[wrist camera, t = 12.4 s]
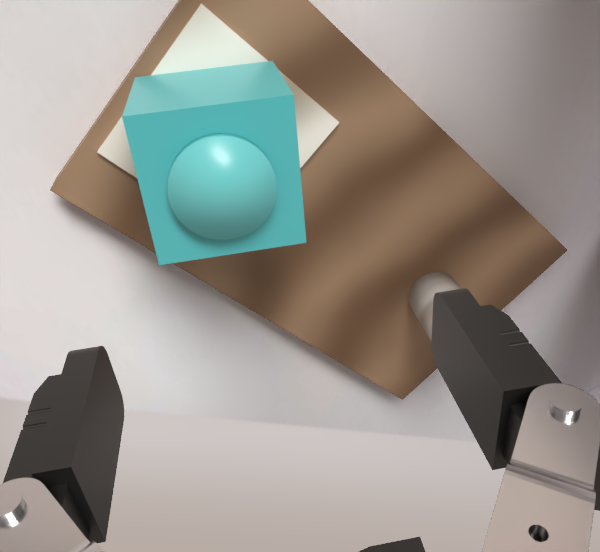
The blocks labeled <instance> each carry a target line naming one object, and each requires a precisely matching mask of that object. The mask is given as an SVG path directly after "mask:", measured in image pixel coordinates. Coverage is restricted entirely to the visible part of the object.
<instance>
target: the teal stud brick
mask: <svg viewBox="0 0 600 552" xmlns="http://www.w3.org/2000/svg"><path fill="white" fill-rule="evenodd" d="M122 119H123V123H124V127H125V131H126V135H127V139H128V143H129V147H130V151H131V155H132V159H133V163H134V167H135V171H136V175H137V179H138V183H139V187H140V191H141V195H142V199H143V203H144V207H145V211H146V215H147V219H148V223H149V227H150V231H151V235H152V239H153V243H154V247H155V251H156V255H157V259H158V263H159V265H164V264H171V263H177V262H184V261H190V260H197V259H204V258H210V257H217V256H223V255H230V254H236V253H243V252H249V251H256V250H262V249H269V248H275V247H282V246H288V245H295V244H301V243H306V231H305V220H304V208H303V196H302V184H301V172H300V161H299V149H298V137H297V125H296V114H295V102H294V94H293V92H292V91H291V89H290V88H289V86H288V85H287V83H286V81H285V80H284V78H283V77H282V75H281V73H280V72H279V70H278V69H277V67H276V66H275V64H274V62H273V61H266V62H258V63H249V64H241V65H233V66H224V67H216V68H208V69H200V70H191V71H183V72H175V73H166V74H158V75H150V76H142V77H135V79H134V82H133V85H132V88H131V91H130V94H129V97H128V100H127V103H126V106H125V109H124V112H123V115H122Z"/></svg>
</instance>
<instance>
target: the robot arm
mask: <svg viewBox="0 0 600 552" xmlns="http://www.w3.org/2000/svg"><path fill="white" fill-rule="evenodd" d="M431 344H432V352H433V357H434V360H435V363H436V366H437V368H438V369H439V371H440V373H441V375H442V377H443V379H444V381H445V382H446V384H447V386H448V388H449V390H450V392H451V394H452V395H453V397H454V399H455V401H456V403H457V405H458V407H459V408H460V410H461V412H462V414H463V416H464V418H465V420H466V421H467V423H468V425H469V427H470V429H471V431H472V433H473V435H474V436H475V438H476V440H477V442H478V444H479V446H480V448H481V449H482V451H483V453H484V455H485V457H486V459H487V460H488V462H489V464H490V466H491V468H492V470H495V469H500V468H506V469H505V473H504V476H503V480H502V483H501V486H500V490H499V493H498V497H497V500H496V504H495V507H494V510H493V514H492V517H491V521H490V524H489V528H488V532H487V535H486V538H485V541H484V545H483V548H482V552H589V544H590V537H591V530H592V522H593V515H594V510H600V404H599V403H598V402H597V400H596V399H595V398H594V397H593V396H591V395H590V394H589V393H587V392H585V391H584V390H582V389H579V388H577V387H574V386H571V385H567V384H562V383H561V381H560V380H559V379H558V378H557V376H556V375H555V374H554V372H553V371H552V370H551V369H550V367H549V366H548V365H547V364H546V362H545V361H544V360H543V359H542V357H541V356H540V355H539V354H538V352H537V351H536V350H535V348H534V347H533V346H532V345H531V344H529V342H528V340H527V338H526V337H525V336H524V335H523V333H522V332H520V331H519V328H518V327H517V326H516V324H515V323H514V322H513V321H512V319H511V318H510V317H509V316H508V315H507V314H505V313H504V312H502V311H500V310H499V309H497V308H495V307H494V306H492V305H484V306H480V305H479V303H478V302H477V301H476V299H475V298H474V297H473V295H472V294H471V293H470V291H469V290H468V289H466V288H462V289H456V290H450V291H444V292H438V293H435V295H434V299H433V317H432V339H431ZM123 421H124V405H123V399H122V394H121V391H120V388H119V385H118V383H117V380H116V377H115V374H114V371H113V368H112V366H111V363H110V360H109V357H108V354H107V352H106V350H105V348H104V347H103V346H99V347H93V348H86V349H80V350H74V351H70V352H69V353H68V355H67V358H66V361H65V364H64V368H63V371H62V374H61V375H55V376H49V377H48V378H47V379H46V380H45V381H44V383H43V384H42V385H41V386H40V387H39V388H38V390H37V391H36V392H35V393H34V395H33V398H32V401H31V404H30V407H29V410H28V415H26V418H25V421H24V424H23V430H21V433H20V435H19V438H18V441H17V444H16V447H15V450H14V453H13V456H12V458H11V461H10V464H9V467H8V470H7V473H6V475H5V478H4V482H3V484H1V485H0V552H104V551H103V550H102V549H101V548H100V546H99V545H98V544H97V543H101V542H105V541H106V534H107V528H108V521H109V515H110V508H111V501H112V495H113V488H114V481H115V475H116V468H117V461H118V455H119V448H120V441H121V435H122V428H123ZM360 552H425V550H424V547H423V544H422V541H421V538H420V537H416V538H411V539H406V540H401V541H396V542H391V543H386V544H381V545H376V546H371V547H368V548H366V549H364V550H361V551H360Z"/></svg>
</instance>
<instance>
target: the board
mask: <svg viewBox="0 0 600 552" xmlns="http://www.w3.org/2000/svg"><path fill="white" fill-rule="evenodd" d="M266 61H273V62H274V64H275V66H276V67H277V69H278V70H279V72H280V73H281V75H282V77H283V78H284V80H285V81H286V83H287V85H288V86H289V88H290V89H291V91H292V92H293V94H294V102H295V114H296V125H297V137H298V149H299V161H300V172H301V184H302V196H303V208H304V220H305V231H306V243H301V244H295V245H288V246H282V247H275V248H269V249H262V250H256V251H249V252H243V253H236V254H230V255H223V256H217V257H210V258H204V259H197V260H190V261H184V262H177V263H173V264H175V265H177V266H178V267H180V268H182V269H184V270H185V271H187V272H189V273H190V274H192V275H194V276H195V277H197V278H199V279H200V280H202V281H204V282H205V283H207V284H209V285H210V286H212V287H214V288H215V289H217V290H219V291H221V292H222V293H224V294H226V295H227V296H229V297H231V298H232V299H234V300H236V301H237V302H239V303H241V304H242V305H244V306H246V307H247V308H249V309H251V310H252V311H254V312H256V313H258V314H259V315H261V316H263V317H264V318H266V319H268V320H269V321H271V322H273V323H274V324H276V325H278V326H279V327H281V328H283V329H284V330H286V331H288V332H289V333H291V334H293V335H295V336H296V337H298V338H300V339H301V340H303V341H305V342H306V343H308V344H310V345H311V346H313V347H315V348H316V349H318V350H320V351H321V352H323V353H325V354H326V355H328V356H330V357H332V358H333V359H335V360H337V361H338V362H340V363H342V364H343V365H345V366H347V367H348V368H350V369H352V370H353V371H355V372H357V373H358V374H360V375H362V376H363V377H365V378H367V379H369V380H370V381H372V382H374V383H375V384H377V385H379V386H380V387H382V388H384V389H385V390H387V391H389V392H390V393H392V394H394V395H395V396H397V397H399V398H400V399H402V400H403V399H404V398H405V397H406V396H407V395H408V394H409V393H410V392H411V391H413V390H414V389H415V388H416V387H417V386H418V385H419V384H420V383H421V382H422V381H424V380H425V379H426V378H427V377H428V376H429V375H430V374H431V373H432V372H433V371H435V370H436V369H437V366H436V363H435V360H434V357H433V352H432V344H431V339H432V317H433V299H434V295H435V293H438V292H444V291H450V290H456V289H462V288H466V289H468V290H469V291H470V293H471V294H472V295H473V297H474V298H475V299H476V301H477V302H478V303H479V305H480V306H484V305H492V306H494V307H495V308H497V309H499V310H500V311H501V310H502V309H503V308H504V307H505V306H506V305H507V304H509V303H510V302H511V301H512V300H513V299H514V298H515V297H516V296H517V295H519V294H520V293H521V292H522V291H523V290H524V289H525V288H526V287H527V286H528V285H530V284H531V283H532V282H533V281H534V280H535V279H536V278H537V277H538V276H540V275H541V274H542V273H543V272H544V271H545V270H546V269H547V268H548V267H549V266H551V265H552V264H553V263H554V262H555V261H556V260H557V259H558V258H559V257H561V256H562V255H563V254H564V253H565V252H566V251H567V249H566V248H565V247H564V246H563V245H562V244H561V243H560V242H559V241H558V240H556V239H555V238H554V237H553V236H552V235H551V234H550V233H549V232H548V231H547V230H546V229H545V228H544V227H543V226H542V225H541V224H540V223H539V222H538V221H537V220H536V219H535V218H534V217H533V216H532V215H531V214H529V213H528V212H527V211H526V210H525V209H524V208H523V207H522V206H521V205H520V204H519V203H518V202H517V201H516V200H515V199H514V198H513V197H512V196H511V195H510V194H509V193H508V192H507V191H506V190H505V189H504V188H502V187H501V186H500V185H499V184H498V183H497V182H496V181H495V180H494V179H493V178H492V177H491V176H490V175H489V174H488V173H487V172H486V171H485V170H484V169H483V168H482V167H481V166H480V165H479V164H478V163H477V162H475V161H474V160H473V159H472V158H471V157H470V156H469V155H468V154H467V153H466V152H465V151H464V150H463V149H462V148H461V147H460V146H459V145H458V144H457V143H456V142H455V141H454V140H453V139H452V138H451V137H449V136H448V135H447V134H446V133H445V132H444V131H443V130H442V129H441V128H440V127H439V126H438V125H437V124H436V123H435V122H434V121H433V120H432V119H431V118H430V117H429V116H428V115H427V114H426V113H425V112H424V111H422V110H421V109H420V108H419V107H418V106H417V105H416V104H415V103H414V102H413V101H412V100H411V99H410V98H409V97H408V96H407V95H406V94H405V93H404V92H403V91H402V90H401V89H400V88H399V87H398V86H397V85H395V84H394V83H393V82H392V81H391V80H390V79H389V78H388V77H387V76H386V75H385V74H384V73H383V72H382V71H381V70H380V69H379V68H378V67H377V66H376V65H375V64H374V63H373V62H372V61H371V60H370V59H368V58H367V57H366V56H365V55H364V54H363V53H362V52H361V51H360V50H359V49H358V48H357V47H356V46H355V45H354V44H353V43H352V42H351V41H350V40H349V39H348V38H347V37H346V36H345V35H344V34H343V33H341V32H340V31H339V30H338V29H337V28H336V27H335V26H334V25H333V24H332V23H331V22H330V21H329V20H328V19H327V18H326V17H325V16H324V15H323V14H322V13H321V12H320V11H319V10H318V9H317V8H315V7H314V6H313V5H312V4H311V3H310V2H309V1H308V0H179V1H178V2H177V3H176V5H175V6H174V8H173V9H172V11H171V12H170V14H169V15H168V17H167V18H166V19H165V21H164V22H163V24H162V25H161V27H160V28H159V30H158V31H157V32H156V34H155V35H154V37H153V38H152V40H151V41H150V43H149V44H148V46H147V47H146V48H145V50H144V51H143V53H142V54H141V56H140V57H139V59H138V60H137V62H136V63H135V64H134V66H133V67H132V69H131V70H130V72H129V73H128V75H127V76H126V78H125V79H124V80H123V82H122V83H121V85H120V86H119V88H118V89H117V91H116V92H115V94H114V95H113V96H112V98H111V99H110V101H109V102H108V104H107V105H106V107H105V108H104V110H103V111H102V112H101V114H100V115H99V117H98V118H97V120H96V121H95V123H94V124H93V126H92V127H91V128H90V130H89V131H88V133H87V134H86V136H85V137H84V139H83V140H82V142H81V143H80V144H79V146H78V147H77V149H76V150H75V152H74V153H73V155H72V156H71V158H70V159H69V160H68V162H67V163H66V165H65V166H64V168H63V169H62V171H61V172H60V173H59V175H58V176H57V178H56V180H55V182H54V184H53V186H52V187H51V189H50V190H51V191H52V192H54V193H56V194H57V195H59V196H61V197H62V198H64V199H66V200H68V201H69V202H71V203H73V204H74V205H76V206H78V207H79V208H81V209H83V210H84V211H86V212H88V213H89V214H91V215H93V216H94V217H96V218H98V219H99V220H101V221H103V222H104V223H106V224H108V225H110V226H111V227H113V228H115V229H116V230H118V231H120V232H121V233H123V234H125V235H126V236H128V237H130V238H131V239H133V240H135V241H136V242H138V243H140V244H141V245H143V246H145V247H147V248H148V249H150V250H152V251H153V252H155V253H156V251H155V247H154V243H153V239H152V235H151V231H150V227H149V223H148V219H147V215H146V211H145V207H144V203H143V199H142V195H141V191H140V187H139V183H138V179H137V175H136V171H135V167H134V163H133V159H132V155H131V151H130V147H129V143H128V139H127V135H126V131H125V127H124V123H123V119H122V115H123V112H124V109H125V106H126V103H127V100H128V97H129V94H130V91H131V88H132V85H133V82H134V79H135V77H142V76H150V75H158V74H166V73H175V72H183V71H191V70H200V69H208V68H216V67H224V66H233V65H241V64H249V63H258V62H266Z"/></svg>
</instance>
